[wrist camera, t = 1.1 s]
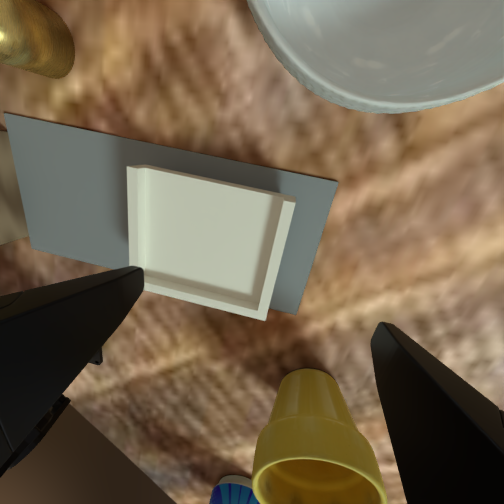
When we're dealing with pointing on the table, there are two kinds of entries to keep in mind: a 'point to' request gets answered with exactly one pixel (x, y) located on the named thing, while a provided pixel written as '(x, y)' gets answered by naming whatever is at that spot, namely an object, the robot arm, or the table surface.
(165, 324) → the table surface
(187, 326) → the table surface
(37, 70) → the solid brass cylinder
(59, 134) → the mat
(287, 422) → the plant pot
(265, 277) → the shallow square tray
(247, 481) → the beer can
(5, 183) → the end stop
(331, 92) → the cereal bowl
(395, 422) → the robot arm
